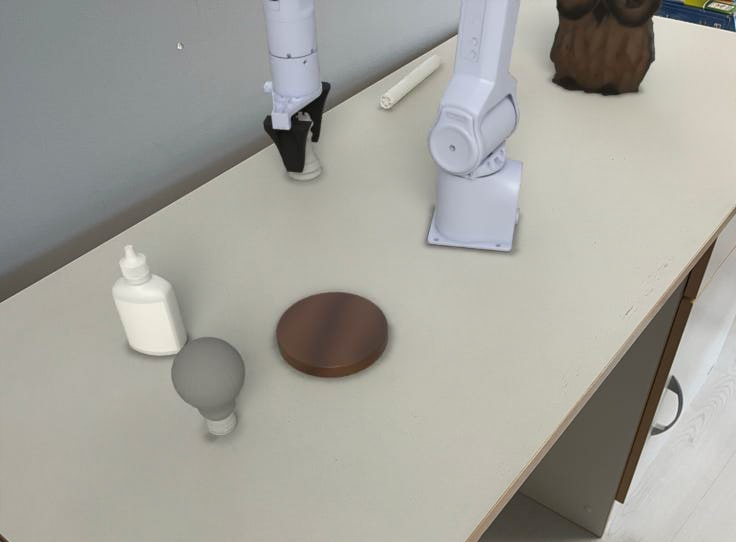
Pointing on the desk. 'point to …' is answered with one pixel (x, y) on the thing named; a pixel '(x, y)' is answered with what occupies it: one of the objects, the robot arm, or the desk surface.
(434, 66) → the cream white rod
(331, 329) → the walnut coaster
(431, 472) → the desk surface
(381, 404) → the desk surface
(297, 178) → the rook chess piece
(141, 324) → the eye dropper bottle
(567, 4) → the owl
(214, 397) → the light bulb
